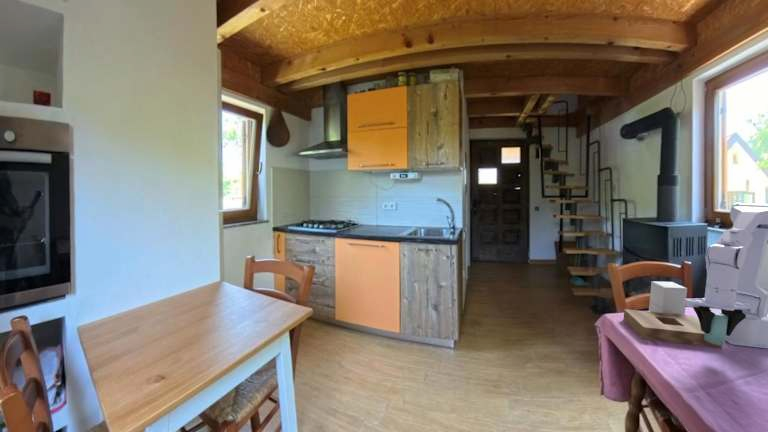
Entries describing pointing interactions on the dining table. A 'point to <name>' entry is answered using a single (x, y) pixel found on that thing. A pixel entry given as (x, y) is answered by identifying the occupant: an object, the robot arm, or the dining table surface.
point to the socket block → (667, 327)
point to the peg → (717, 329)
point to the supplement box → (667, 298)
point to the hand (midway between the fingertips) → (715, 333)
